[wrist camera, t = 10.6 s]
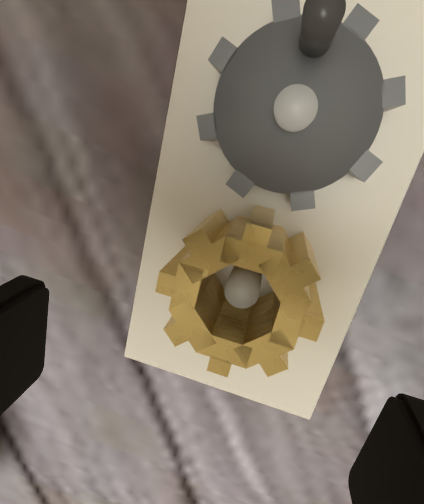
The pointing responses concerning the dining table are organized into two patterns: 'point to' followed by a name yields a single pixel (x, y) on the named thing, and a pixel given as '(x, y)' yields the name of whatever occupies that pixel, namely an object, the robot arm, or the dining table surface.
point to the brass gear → (242, 319)
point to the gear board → (323, 226)
